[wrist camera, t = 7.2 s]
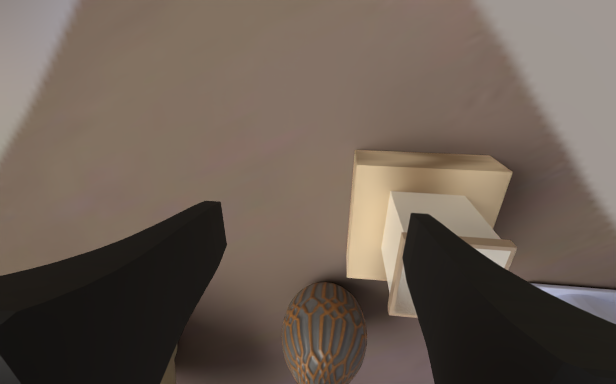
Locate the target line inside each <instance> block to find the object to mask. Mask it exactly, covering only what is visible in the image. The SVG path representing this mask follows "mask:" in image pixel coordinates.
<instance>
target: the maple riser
mask: <svg viewBox="0 0 616 384" xmlns="http://www.w3.org/2000/svg"><path fill="white" fill-rule="evenodd" d="M512 173H513V172H512V171H510V170H509V169H508V168H506V167H505V166H504V165H502V164H501V163H499V162H498V161H497V160H495V159H494V158H492V157H491V156H490V155H468V154H443V153H419V152H395V151H370V150H355V156H354V168H353V180H352V192H351V204H350V216H349V228H348V240H347V252H346V253H347V278H358V279H370V280H382V281H387V277H386V271H385V266H384V261H383V255H382V250H381V247H382V241H383V235H384V228H385V222H386V216H387V209H388V203H389V197H390V191H396V192H413V193H429V194H446V195H462V196H466V198H467V199H468V200H469V201H470V202H471V204H472V205H473V206H474V207H475V208H476V210H477V211H478V212H479V213H480V214H481V216H482V217H483V218H484V219H485V220H486V222H487V223H488V224H489V225H490V226H491V228H492V229H493V228H494V225H495V222H496V219H497V216H498V213H499V210H500V208H501V205H502V202H503V199H504V196H505V193H506V190H507V187H508V185H509V182H510V179H511V176H512Z"/></svg>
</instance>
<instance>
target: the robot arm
mask: <svg viewBox="0 0 616 384" xmlns="http://www.w3.org/2000/svg"><path fill="white" fill-rule="evenodd" d="M226 246H227V243H226V236H225V229H224V222H223V215H222V208H221V202H216V201H204V202H201V203H199V204H197V205H194V206H192V207H190V208H188V209H186V210H184V211H182V212H180V213H178V214H176V215H174V216H172V217H170V218H168V219H166V220H164V221H162V222H160V223H158V224H156V225H154V226H152V227H150V228H147V229H145V230H143V231H141V232H139V233H137V234H134V235H132V236H130V237H127V238H125V239H123V240H120V241H118V242H115V243H112V244H110V245H107V246H104V247H102V248H99V249H96V250H93V251H90V252H87V253H84V254H81V255H78V256H74V257H71V258H68V259H65V260H62V261H58V262H55V263H51V264H48V265H44V266H40V267H36V268H32V269H28V270H24V271H20V272H16V273H12V274H7V275H3V276H0V384H160V383H161V381H162V378H163V376H164V374H165V371H166V369H167V366H168V364H169V361H170V359H171V357H172V354H173V352H174V350H175V347H176V345H177V343H178V341H179V338H180V336H181V334H182V332H183V329H184V327H185V325H186V323H187V321H188V320H189V318H190V316H191V314H192V312H193V310H194V309H195V307H196V305H197V303H198V302H199V300H200V298H201V296H202V295H203V293H204V291H205V290H206V288H207V286H208V284H209V283H210V281H211V279H212V277H213V275H214V274H215V272H216V270H217V268H218V266H219V264H220V261H221V259H222V256H223V254H224V251H225V248H226ZM402 259H403V265H404V271H405V277H406V282H407V285H408V288H409V292H410V295H411V298H412V301H413V304H414V307H415V311H416V314H417V317H418V320H419V323H420V326H421V329H422V332H423V336H424V339H425V342H426V346H427V350H428V354H429V359H430V363H431V368H432V373H433V378H434V383H435V384H616V290H609V289H597V288H584V287H572V286H559V285H547V284H534V283H529V282H527V281H525V280H523V279H522V278H520V277H518V276H516V275H515V274H513V273H511V272H510V271H508V270H506V269H505V268H503V267H501V266H500V265H498V264H497V263H495V262H494V261H492V260H491V259H489V258H488V257H486V256H485V255H483V254H482V253H480V252H479V251H478V250H476V249H475V248H473V247H472V246H471V245H469V244H468V243H466V242H465V241H464V240H462V239H461V238H460V237H459V236H457V235H456V234H455V233H453V232H452V231H451V230H449V229H448V228H447V227H446V226H444V225H443V224H442V223H440V222H439V221H438V220H436V219H435V218H434V217H432V216H431V215H429V214H423V213H411V215H410V220H409V225H408V231H407V236H406V241H405V246H404V251H403V256H402Z"/></svg>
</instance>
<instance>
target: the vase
mask: <svg viewBox="0 0 616 384" xmlns="http://www.w3.org/2000/svg"><path fill="white" fill-rule="evenodd" d="M366 346H367V330H366V323H365V318H364V315H363V312H362V309H361V307H360V305H359V303H358V302H357V300H356V299H355V297H354V296H353V295H352V294H351V293H350V292H348V291H347V290H346V289H345V288H343V287H341V286H339V285H336V284H333V283H328V282H321V283H315V284H312V285H309V286H307V287H306V288H304V289H302V290H301V291H300V292H299V293H298V294H297V295H296V296H295V297H294V299H293V300H292V301H291V303H290V305H289V307H288V309H287V311H286V314H285V317H284V321H283V326H282V349H283V354H284V358H285V361H286V364H287V366H288V368H289V370H290V372H291V373H292V375H293V377H294V379H295V380H296V382H297V384H349V383H350V381H351V380H352V379H353V378H354V377H355V375H356V374H357V372H358V371H359V369H360V367H361V365H362V362H363V359H364V356H365V351H366Z"/></svg>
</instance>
